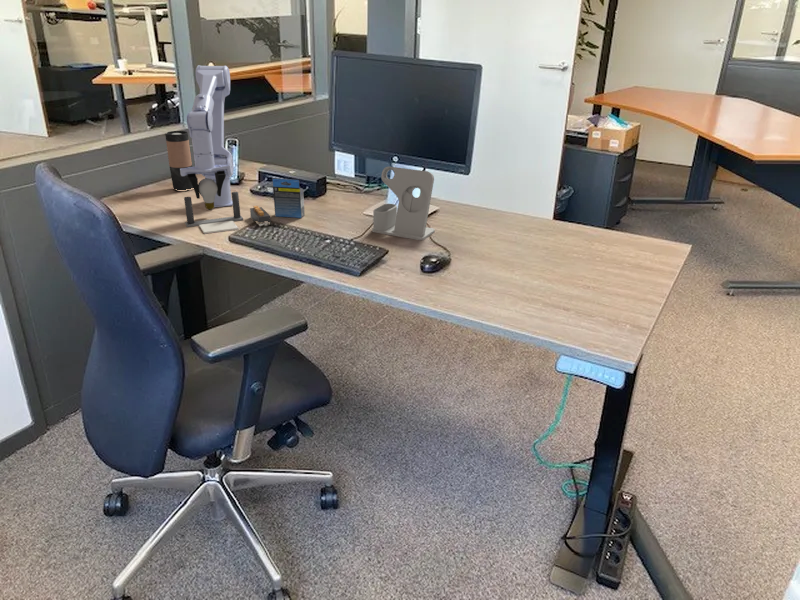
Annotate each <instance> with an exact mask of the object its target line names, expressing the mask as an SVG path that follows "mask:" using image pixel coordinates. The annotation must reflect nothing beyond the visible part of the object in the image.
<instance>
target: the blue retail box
mask: <svg viewBox="0 0 800 600" xmlns="http://www.w3.org/2000/svg"><path fill="white" fill-rule="evenodd" d="M271 180H272V192H273V204H274V206H273V207H274V216H275V218H278V217H279V218H280V217H281V218H297V219H302V218H303V217H304V216H305V198H304V196H305V195H304V189H303V188H301V187H300V180H299V179H289V178H273V177H272V179H271ZM285 183H287V184H285Z"/></svg>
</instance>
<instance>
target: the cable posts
mask: <svg viewBox="0 0 800 600" xmlns="http://www.w3.org/2000/svg"><path fill="white" fill-rule="evenodd" d="M239 197H240V196H239V192H238V191H231V199H232V203H233V205H232V209H233V210H232V211H233V215H232V216H228V217H227V216H226V217H219V218H218V217H217V218H210V219H201V220H195V217H194V209H193V202H192V197H191V196H184V197H183V199H184V200H183V201H184V207H185V215H186V221H185V222H184V225H185V227H186V228H192V227H198V226H199V225H201V224H209V223H217V222H225V221H233V222H238V221H244V217H243V216H242V215H241V208H240V206H241V205H240V198H239Z"/></svg>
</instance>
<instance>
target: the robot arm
mask: <svg viewBox="0 0 800 600" xmlns="http://www.w3.org/2000/svg"><path fill="white" fill-rule="evenodd" d="M195 80H196V83H197V85H198V88H199V93H198V94H196V96H195V97H194V100H193V105H192V108H191V111H189V112H187V115H186V125H187V126H186V127H187V129H188V131H189V132H188V134H189V137H190V138H191V143H192V150H193V159H194V165H193V166H192V167H188V168H181V169H180V173H181V176H185V175H186V176H187V177H188V179H189V181H190V182H191V184H192V186H193V188H194V189H193V191H194V194H195V197H196V200H197V199H198V200H199V199H201V195H200V193H199V190H198V184H199V181H198V179H199V178H198V177H197V175H202V176H203V177H204V179H205V178H209V179H212V180H214V181H215V182H216V184H217V187H218V190H217V193H216V195H215V200H214V208H218V207H219V208H221V207H230V206H233V203H232V191H231V181H230V177H232V176H233V175H234V171H235V169H234V168H235V167H234V161H233V155H232V153H231V152H230V150H228V149H226V148H225V144H224V143H225V99H226V97H228V96H229V95H230V93H231V73H230V69H229V67H228V66H227V65H200V64H198V65H197V66H196V68H195Z"/></svg>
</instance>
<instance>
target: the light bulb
mask: <svg viewBox="0 0 800 600" xmlns="http://www.w3.org/2000/svg"><path fill="white" fill-rule="evenodd" d="M198 190H199V195H200V197H202V199H203V202H204V207H205V209H206V210H208V211H212V210H213V209H214V208H215V207H214V200H215V195H216V193H217V190H218V187H217V184H216V182H215V181H214V180H212V179H209V178H205V177H204V178H202V179H201V180H199V181H198Z"/></svg>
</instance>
